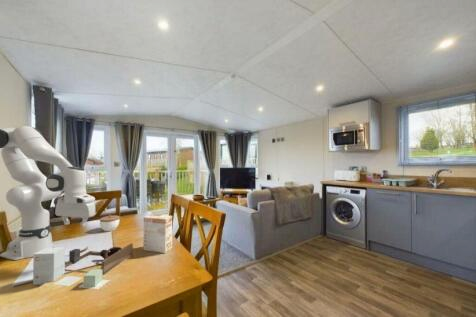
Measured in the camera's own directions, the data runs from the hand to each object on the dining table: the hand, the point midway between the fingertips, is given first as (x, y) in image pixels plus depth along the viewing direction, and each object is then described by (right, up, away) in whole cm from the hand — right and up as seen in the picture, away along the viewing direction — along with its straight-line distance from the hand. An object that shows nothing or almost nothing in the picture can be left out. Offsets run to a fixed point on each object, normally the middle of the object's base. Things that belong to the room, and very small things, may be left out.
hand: (74, 225), depth 102 cm
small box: (+2, -19, -16) cm, 25 cm away
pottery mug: (+19, -19, +1) cm, 27 cm away
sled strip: (+12, -19, -2) cm, 23 cm away
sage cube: (+24, -18, -20) cm, 36 cm away
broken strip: (+18, -19, -19) cm, 32 cm away
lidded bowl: (-12, -20, +47) cm, 52 cm away
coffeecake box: (+37, -20, +15) cm, 44 cm away
